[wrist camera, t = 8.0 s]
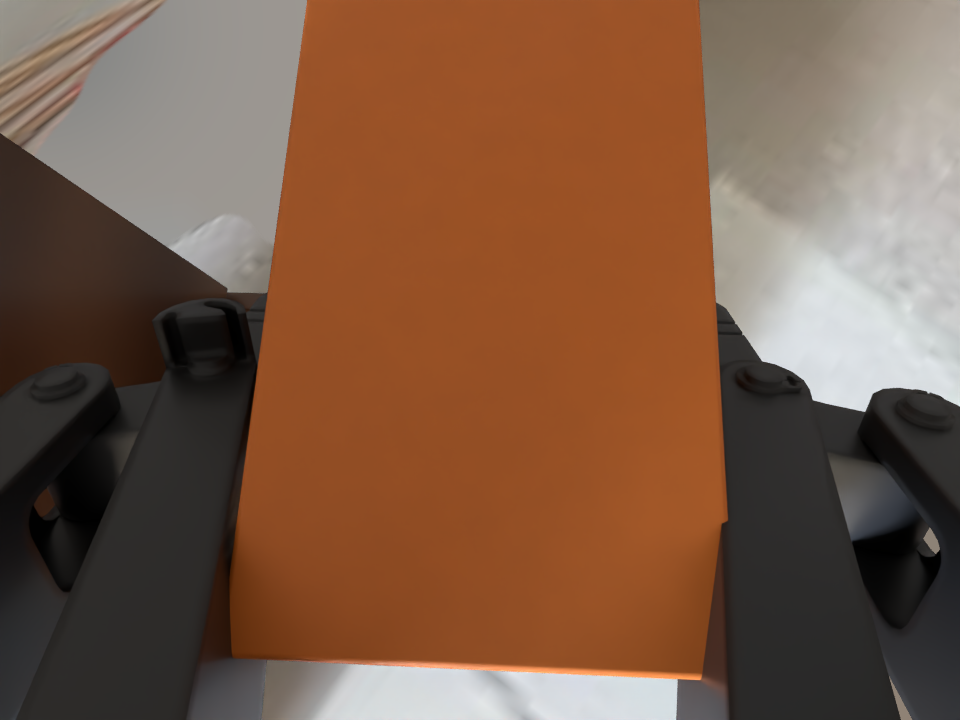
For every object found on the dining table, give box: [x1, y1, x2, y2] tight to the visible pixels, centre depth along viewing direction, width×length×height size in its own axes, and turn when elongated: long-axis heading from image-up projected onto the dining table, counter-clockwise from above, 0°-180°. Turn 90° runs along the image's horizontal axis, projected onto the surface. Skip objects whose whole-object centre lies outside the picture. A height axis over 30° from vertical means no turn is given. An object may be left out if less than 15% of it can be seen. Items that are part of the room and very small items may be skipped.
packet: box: [229, 0, 728, 680], centre depth 14 cm, size 5×8×15 cm, turn 178°
